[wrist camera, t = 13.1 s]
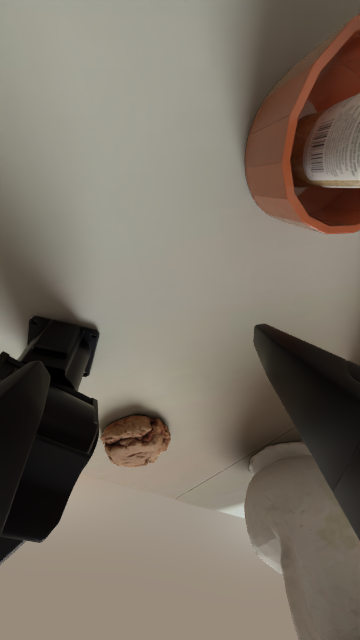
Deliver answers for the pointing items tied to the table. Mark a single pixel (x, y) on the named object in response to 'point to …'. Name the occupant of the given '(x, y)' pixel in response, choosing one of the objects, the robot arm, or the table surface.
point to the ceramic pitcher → (305, 541)
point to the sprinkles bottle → (328, 147)
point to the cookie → (135, 440)
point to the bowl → (279, 130)
